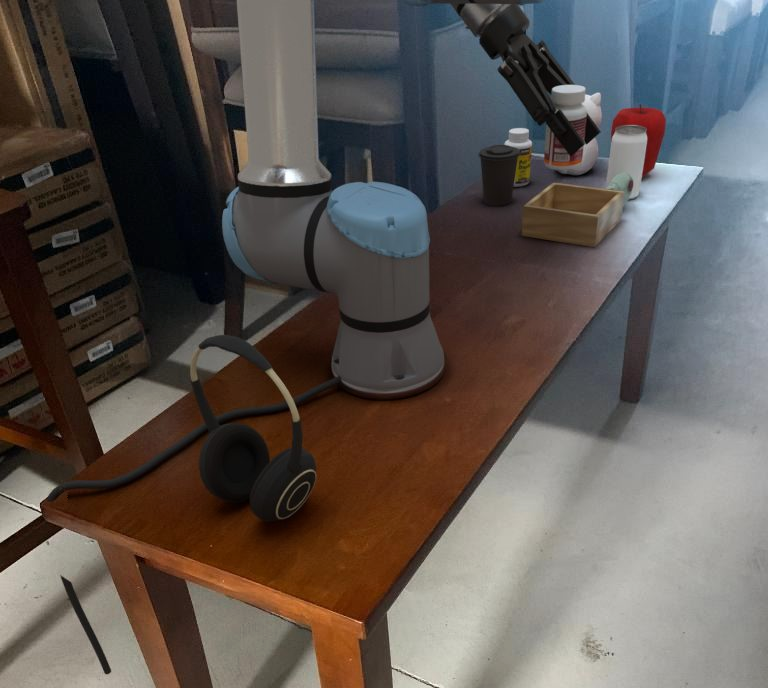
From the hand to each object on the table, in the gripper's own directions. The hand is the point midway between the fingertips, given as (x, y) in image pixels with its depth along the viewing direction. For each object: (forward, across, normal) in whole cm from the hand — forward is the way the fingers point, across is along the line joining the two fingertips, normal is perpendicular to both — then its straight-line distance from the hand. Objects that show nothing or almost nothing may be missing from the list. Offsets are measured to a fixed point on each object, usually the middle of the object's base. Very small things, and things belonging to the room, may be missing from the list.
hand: (585, 144), depth 123 cm
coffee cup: (-4, -16, -28) cm, 32 cm away
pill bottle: (0, 0, -5) cm, 5 cm away
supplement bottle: (-4, -27, -28) cm, 39 cm away
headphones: (+9, +81, -15) cm, 83 cm away
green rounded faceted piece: (+13, -20, -11) cm, 26 cm away
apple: (+10, -40, -14) cm, 43 cm away
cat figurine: (+1, -38, -23) cm, 44 cm away
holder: (+9, -8, -14) cm, 19 cm away
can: (+11, -28, -13) cm, 32 cm away
